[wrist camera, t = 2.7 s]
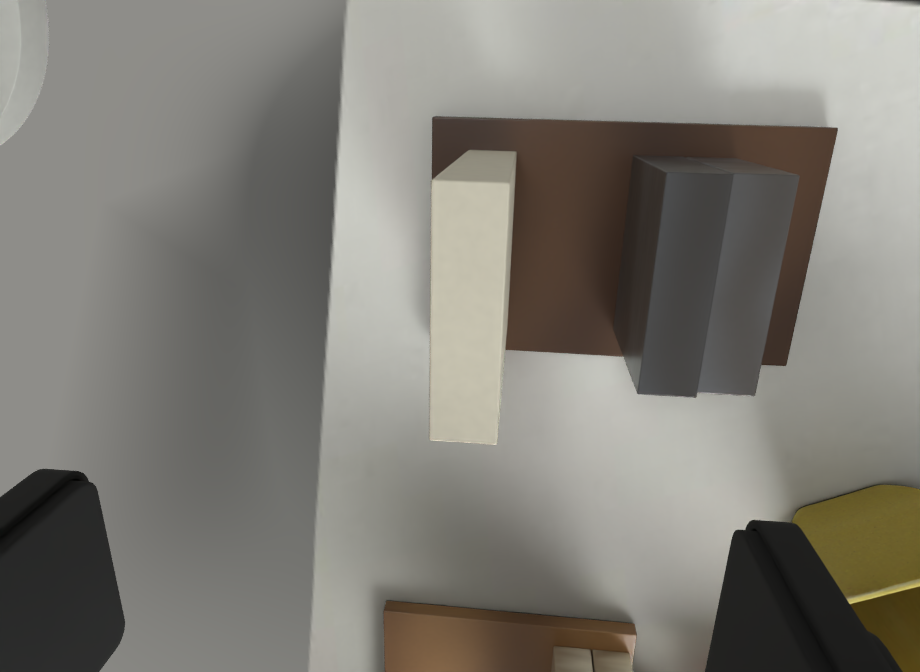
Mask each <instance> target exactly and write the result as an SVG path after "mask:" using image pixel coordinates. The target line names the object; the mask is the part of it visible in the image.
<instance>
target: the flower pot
mask: <svg viewBox="0 0 920 672" xmlns="http://www.w3.org/2000/svg"><path fill="white" fill-rule="evenodd" d="M792 523H795V524H797V525H798V526H799V527H800V528H801V529H802V531H803V532H804V534H805V535H806V537H807V539H808V540H809V542H810V543H811V545H812V546H813V548H814V549H815V551H816V552H817V554H818V556H819V557H820V559H821V560H822V562H823V563H824V565H825V566H826V568H827V569H828V571H829V573H830V574H831V576H832V577H833V579H834V580H835V582H836V583H837V585H838V587H839V588H840V590H841V591H842V593H843V594H844V596H845V597H846V599H847V600H848V602H849V604H850V605H851V607H852V608H853V610H854V611H855V613H856V614H857V616H858V617H859V619H860V621H861V622H862V624H863V625H864V627H865V628H866V630H867V631H869V632H871V633H873V634H874V635H876V636H877V637H878V638H879V639H880V640H881V641H882V643H883V644H884V645H885V646H886V647H887V649H888V650H889V652H890V653H891V655H892V656H893V658H894V659H895V661H896V662H897V664H898V665H899V667H900V668H901V670H902V671H903V672H920V489H917V488H912V487H906V486H897V485H876V486H873V487H869V488H866V489H863V490H860V491H856V492H853V493H850V494H846V495H843V496H840V497H837V498H833V499H830V500H826V501H823V502H820V503H816V504H813V505H809V506H805V507H803V508H801V509H799V510H798V511H797V512H796V514H795V516H794V518H793V520H792Z"/></svg>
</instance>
